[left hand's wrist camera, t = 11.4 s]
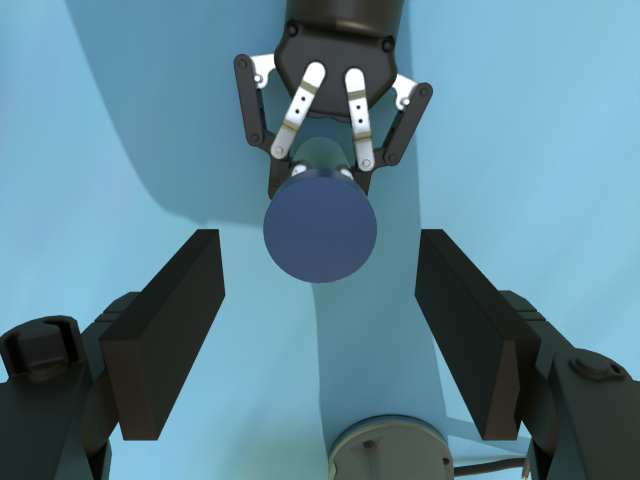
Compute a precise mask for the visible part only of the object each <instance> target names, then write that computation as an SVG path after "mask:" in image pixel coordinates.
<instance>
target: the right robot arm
mask: <svg viewBox="0 0 640 480" xmlns="http://www.w3.org/2000/svg"><path fill="white" fill-rule="evenodd" d="M403 3H404V0H287V5H286V16H285V26H284V33H283V36H282V39H281V41H280V43H279V45H278V46H277V48H276V49H275V52H274V54H266V55H257V56H248V55H245V54H240V55H238V56H236V57H235V59H234V69H235V75H236V81H237V86H238V92H239V98H240V104H241V110H242V115H243V121H244V127H245V133H246V139H247V142H248V143H249V144H250V145H251V146H255V147H256V146H257V147H259V148H261V149H263V150H264V151H266V152H267V153H268V154H269V155H270V158H271V167H270V177H269V187H268V194H269V198H270V199H271V200H272V199H273V197H274V195H275V193H276V192H277V190H278V189H279V187H280V186H281V185H282V184H283V183H284V180H285V178H286V175H287V173H288V170H289V168H290V166H291V159H292V157H289V154H290V147H291V145H292V143H293V141H294V139H295V137H296V135H297V133H298V131H299V129H300V127H301V124H302V122H303V120H304V118H305V116H306V117H311V118H324V117H330V118H332V119H334V120H337V121H339V122H344V123H349V126H350V132H351V137H352V142H353V148H354V155H355V166H351V170H352V173H353V175H354V178H355V180H356V182H357V184H358V185H359V186H360V187H361V188H362V190H363V191H364V193H365V194H366V196H367V195H368V190H369V184H370V179H371V175H372V173H373V171H374V170H375V169H377V168H379V167H384V166H395V165H397V164H398V163H399V162H400V160H401V158H402V156H403V154H404V152H405V150H406V148H407V146H408V144H409V141H410V139H411V137H412V135H413V133H414V131H415V129H416V127H417V125H418V123H419V121H420V119H421V117H422V115H423V113H424V111H425V109H426V107H427V105H428V103H429V101H430V99H431V97H432V94H433V88H432V86H431V85H430V84H428V83H417V82H415V81H413V80H411V79H409V78H407V77H404V76H402V75H400V74H398V70H397V65H396V62H395V55H394V51H395V44H396V39H397V34H398V29H399V24H400V18H401V13H402V8H403ZM275 69H277V71H278V73H279V75H280V77H281V79H282V81H283V83H284V85H285V87H286V89H287V91H288V93H289V95H290V96H291V98H292V102H291V105H290V107H289V109H288V111H287V113H286V115H285V117H284V120H283V122H282V125H281V127H280V129H279V131H278V133H277V135H275V134H274V133H272V132H270V131H268V130H267V126H266V119H265V112H264V106H263V99H262V93H261V89H262V88H265V87H266V86H267V85H268V84H269V76H270V73H271V72H272V71H273V70H275ZM390 88H392V89H393V90H394V93H395V97H394V101H393V103H394V106H395V108H396V109H398V112H397V114H396V117H395V119H394V121H393V123H392V125H391V127H390V130H389V132H388V134H387V136H386V138H385V140H384V142H383V145H382V147H380V148H375V149H373V147H372V140H371V127H370V120H369V113H368V111H369V110H370V109H371V107H372V106H373V105H374V104H375V103H376V102H377V101H378V100H379V99H380V98H381V97H382V96H383V95H384V94H385V93H386V92H387V91H388V90H389V89H390Z"/></svg>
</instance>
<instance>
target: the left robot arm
mask: <svg viewBox="0 0 640 480" xmlns="http://www.w3.org/2000/svg"><path fill="white" fill-rule="evenodd" d="M224 297H225V287H224V277H223V267H222V258H221V248H220V238H219V229H197V230H196V232H195V233H194V234H193V235H192V236H191V237H190V238H189V239H188V240H187V242H186V243H185V244H184V245H183V246H182V247H181V248H180V249H179V250H178V251H177V253H176V254H175V255H174V256H173V257H172V258H171V259H170V260H169V261H168V262H167V264H166V265H165V266H164V267H163V268H162V269H161V270H160V271H159V272H158V273H157V275H156V276H155V277H154V278H153V279H152V280H151V281H150V282H149V283H148V285H147V286H146V287H145V288H144V289H143V290H142V291H141V292H129V293H127V294H125V295H123V296H122V297H120V298H118V299H116V300H115V301H113V302H112V303H111V304H110V305H109V306H108V307H107V308H106V309H105V310H104V311H103V314H100V315H99V316H98V317H97V318H96V319H95V320H94V323H91V324H90V325H89V326H88V327H87V328H86V329H85V330H84V331H83V332H82V333H81V334H80V331H79V327H78V323H77V320H75V319H74V318H72V317H69V316H62V315H58V316H47V317H43V318H39V319H34V320H31V321H28V322H26V323H23V324H21V325H18V326H16V327H14V328H13V329H11V330H9V331H8V332H6V333H4V334H3V335H2V336H1V337H0V354H1V357H2V360H3V362H4V365H5V368H6V370H7V373H8V376H9V378H8V380H7V382H4V383H0V480H108V479H109V472H110V465H111V457H112V451H111V445H110V441H109V436H110V435H111V433H112V432H113V430H114V428H115V427H116V425H117V423H118V422H119V424H120V428H121V432H122V436H123V440H158V438H159V436H160V434H161V431H162V429H163V427H164V425H165V423H166V421H167V419H168V417H169V414H170V412H171V410H172V408H173V406H174V404H175V402H176V400H177V397H178V395H179V393H180V391H181V389H182V387H183V385H184V383H185V380H186V378H187V376H188V374H189V372H190V370H191V368H192V366H193V363H194V361H195V359H196V357H197V355H198V353H199V351H200V348H201V346H202V344H203V342H204V340H205V338H206V336H207V334H208V331H209V329H210V327H211V325H212V323H213V321H214V319H215V317H216V314H217V312H218V310H219V308H220V306H221V304H222V302H223V300H224ZM415 297H416V300H417V302H418V304H419V306H420V308H421V310H422V312H423V314H424V317H425V319H426V321H427V323H428V325H429V327H430V329H431V331H432V334H433V336H434V338H435V340H436V342H437V344H438V346H439V348H440V351H441V353H442V355H443V357H444V359H445V361H446V363H447V366H448V368H449V370H450V372H451V374H452V376H453V378H454V380H455V383H456V385H457V387H458V389H459V391H460V393H461V395H462V397H463V400H464V402H465V404H466V406H467V408H468V410H469V412H470V414H471V417H472V419H473V421H474V423H475V425H476V427H477V429H478V431H479V434H480V436H481V438H482V440H517V436H518V432H519V428H520V424H521V420H522V421H523V423H524V425H525V426H526V428H527V429H528V431H529V433H530V434H531V436H532V437H531V441H530V445H529V448H528V452H527V456H526V458H513V459H506V460H500V461H496V462H490V463H484V464H477V465H470V466H462V467H454V468H453V461H452V457H451V454H450V451H449V449H448V446H447V444H446V441H445V440H444V438H443V437H442V435H441V434H440V433H439V432H438V431H437V430H436V429H434V428H433V427H432V426H430V425H428V424H427V423H425V422H423V421H420V420H417V419H414V418H410V417H405V416H381V417H375V418H371V419H368V420H365V421H362V422H360V423H358V424H356V425H354V426H352V427H351V428H349V429H348V430H346V431H345V432H344V433H343V434H342V435H341V436H340V437H339V438H338V439H337V440H336V442H335V443H334V445H333V447H332V449H331V451H330V455H329V480H454V477H458V476H466V475H474V474H481V473H488V472H494V471H499V470H504V469H509V468H516V467H523V471H522V477H521V479H524V480H527V478H528V475H529V472H530V471H531V478H532V480H640V381H635V380H633V379H632V377H631V376H630V375H629V374H628V372H627V371H626V370H625V369H624V368H623V367H622V366H620V365H619V364H618V363H616V362H615V361H613V360H612V359H610V358H607V357H605V356H603V355H601V354H599V353H596V352H592V351H589V350H585V349H579V348H575V347H574V346H573V345H572V344H571V343H570V342H569V341H568V340H567V339H566V338H565V337H564V336H563V335H562V334H561V333H560V332H559V331H558V330H557V329H556V328H555V327H553V326H552V325H551V324H550V323H549V322H548V321H546V319H545V318H544V317H543V316H542V315H541V314H540V313H539V312H537V310H536V309H535V308H534V307H533V306H532V305H531V304H530V303H529V302H528V301H527V300H526V299H525V298H523V297H521V296H519V295H517V294H516V293H514V292H512V291H498V290H497V289H496V288H495V287H494V286H493V285H492V283H491V282H490V281H489V280H488V279H487V278H486V277H485V276H484V275H483V274H482V272H481V271H480V270H479V269H478V268H477V267H476V266H475V265H474V264H473V262H472V261H471V260H470V259H469V258H468V257H467V256H466V255H465V254H464V253H463V251H462V250H461V249H460V248H459V247H458V246H457V245H456V244H455V243H454V242H453V240H452V239H451V238H450V237H449V236H448V235H447V234H446V233H445V232H444V230H443V229H421V238H420V248H419V258H418V267H417V277H416V287H415Z"/></svg>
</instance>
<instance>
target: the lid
mask: <svg viewBox="0 0 640 480" xmlns="http://www.w3.org/2000/svg"><path fill="white" fill-rule="evenodd" d="M263 233H264V240H265V244H266V247H267V250H268V252H269V254H270V256H271V257H272V259H273V260H274V261H275V263H276V264H277V265H278V266H279V267H280V268H281V269H282V270H283V271H285V272H286V273H288V274H289V275H291V276H292V277H295V278H297V279H299V280H302V281H306V282H311V283H329V282H334V281H338V280H341V279H343V278H346V277H348V276H349V275H351V274H353V273H354V272H355V271H357V270H358V269H359V268H360V267H361V266H362V265H363V264H364V263H365V262H366V260H367V259H368V258H369V256H370V254H371V252H372V250H373V248H374V245H375V241H376V235H377V225H376V218H375V215H374V212H373V210H372V207H371V205H370V203H369V201H368V198H367V196H366V194H365V193H364V191H363V190H362V188H361V187H360V186H359V185H358V184H357V183H356V182H355V181H354V180H353V179H351V178H350V177H348V176H347V175H345V174H343V173H340V172H338V171H335V170H330V169H310V170H306V171H303V172H300V173H298V174H296V175H294V176H292V177H291V178H289V179H288V180H286V181H285V182H284V183H283V184H282V185H281V186H280V187H279V189H278V190H277V192H276V193H275V195H274V197H273V199H272V201H271V203H270V205H269V208H268V210H267V212H266V216H265V219H264V227H263Z"/></svg>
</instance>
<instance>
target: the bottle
mask: <svg viewBox="0 0 640 480" xmlns="http://www.w3.org/2000/svg"><path fill="white" fill-rule="evenodd" d="M310 169H330V170H335V171H338V172H340V173H343V174H345V175H347V176H348V177H350V178H351V179H353V180H354V181H355V182H356V180H355V178H354V175H353V173H352V170H351V168H350V166H349V163H348V161H347V158H346V156H345V153H344V151H343V149H342V148H341V146H340V145H339V144H338V143H337V142H336V141H334V140H333V139H331V138H328V137H324V136H316V137H312V138H309V139H307V140H306V141H304V142H303V143H302V144H301V145H300V146H299V148H298V149H297V151H296V153H295V156H294V158H293V161H292V163H291V166H290V168H289V170H288V173H287V175H286V178H285V180H284V182H285V181H286V180H288V179H289V178H291V177H292V176H294V175H296V174H298V173H300V172H303V171H306V170H310ZM356 183H357V182H356Z"/></svg>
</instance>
